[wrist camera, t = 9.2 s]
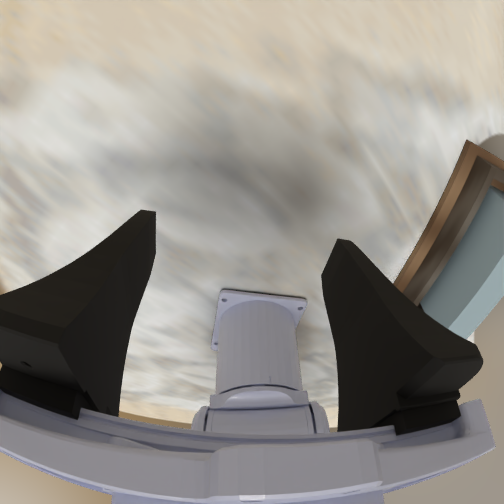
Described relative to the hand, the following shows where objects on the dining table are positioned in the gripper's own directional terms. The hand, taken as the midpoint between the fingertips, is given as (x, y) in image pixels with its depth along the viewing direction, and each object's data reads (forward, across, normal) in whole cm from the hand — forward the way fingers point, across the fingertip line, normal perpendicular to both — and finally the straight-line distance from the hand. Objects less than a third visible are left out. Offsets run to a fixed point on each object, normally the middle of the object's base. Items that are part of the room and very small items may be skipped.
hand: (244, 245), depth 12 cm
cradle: (+9, -21, +3) cm, 23 cm away
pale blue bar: (+9, -21, +3) cm, 23 cm away
